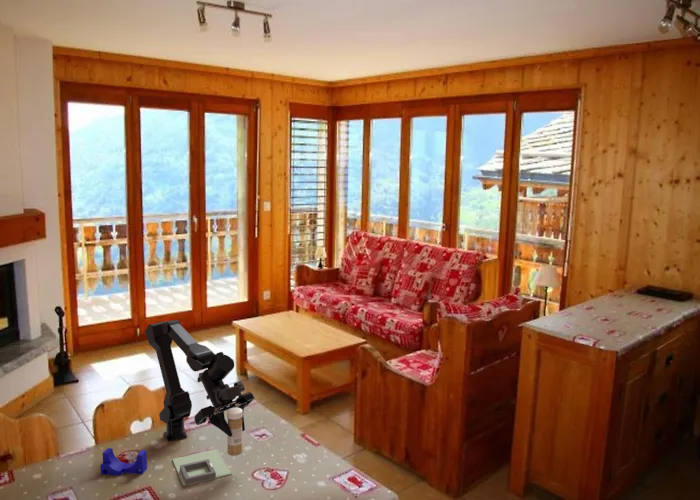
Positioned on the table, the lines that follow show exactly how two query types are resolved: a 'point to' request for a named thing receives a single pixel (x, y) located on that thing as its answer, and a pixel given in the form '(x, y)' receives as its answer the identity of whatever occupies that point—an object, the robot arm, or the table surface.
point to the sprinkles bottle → (235, 431)
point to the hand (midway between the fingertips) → (237, 433)
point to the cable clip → (122, 464)
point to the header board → (201, 467)
